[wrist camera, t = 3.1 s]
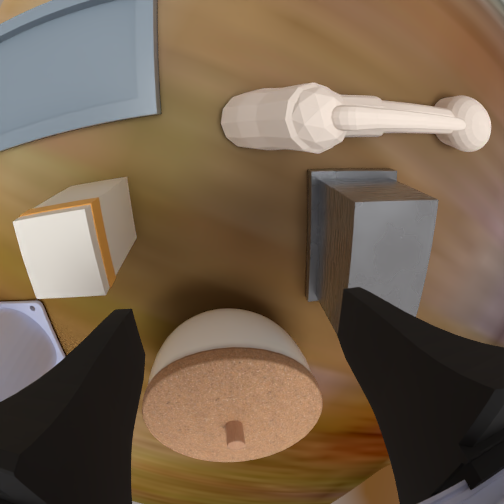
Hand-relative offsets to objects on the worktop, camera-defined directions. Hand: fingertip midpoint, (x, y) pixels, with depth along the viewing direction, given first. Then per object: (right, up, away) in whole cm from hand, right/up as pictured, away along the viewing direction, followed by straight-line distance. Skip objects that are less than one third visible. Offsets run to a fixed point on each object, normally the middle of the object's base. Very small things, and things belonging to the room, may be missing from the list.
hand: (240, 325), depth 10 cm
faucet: (+8, +11, +8) cm, 16 cm away
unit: (+7, +4, +11) cm, 13 cm away
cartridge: (-9, +5, +8) cm, 13 cm away
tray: (-13, +14, +4) cm, 19 cm away
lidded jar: (-2, -4, +13) cm, 14 cm away
